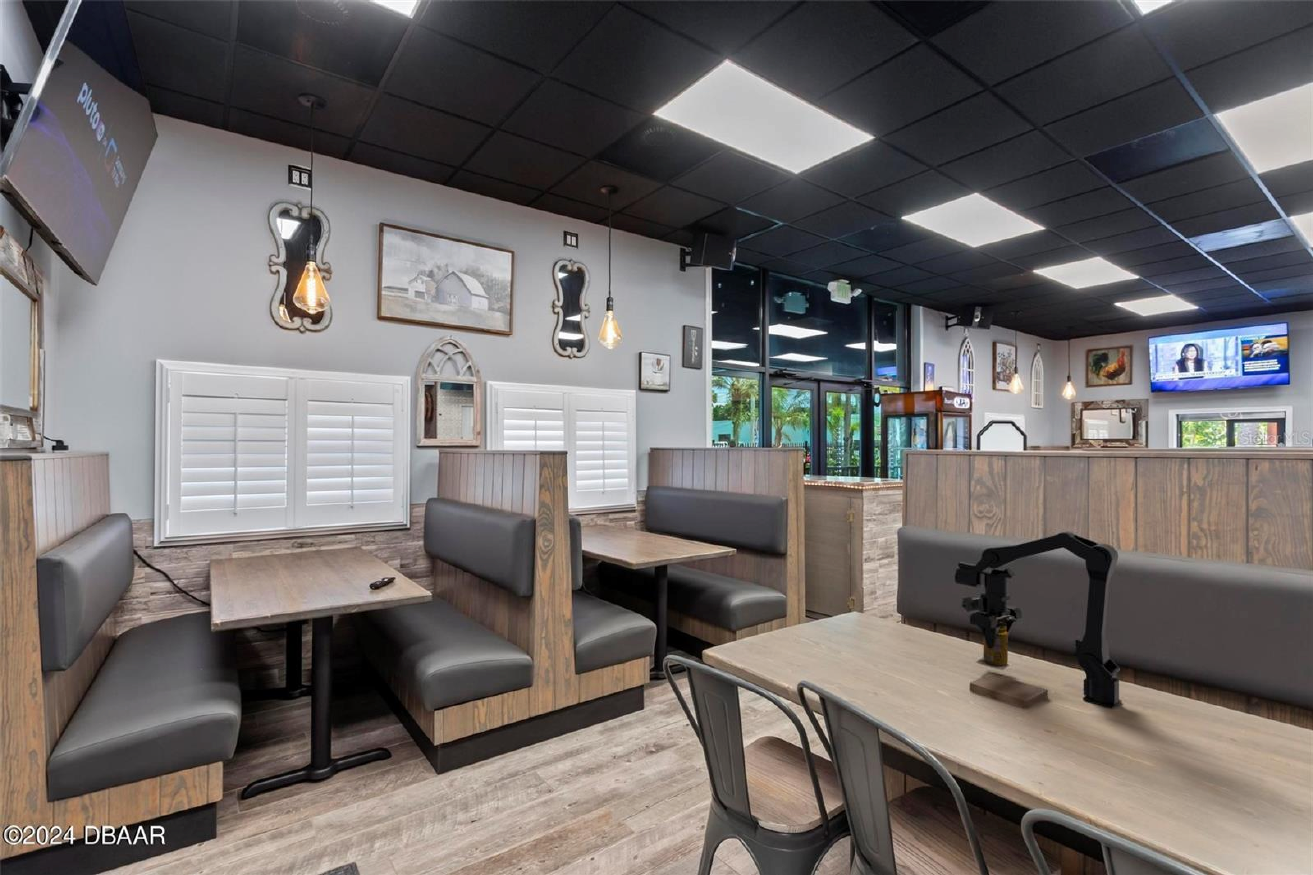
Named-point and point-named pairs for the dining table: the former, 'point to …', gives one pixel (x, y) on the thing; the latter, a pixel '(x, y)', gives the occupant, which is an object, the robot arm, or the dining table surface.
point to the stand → (1009, 690)
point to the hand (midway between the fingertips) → (995, 646)
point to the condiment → (997, 650)
